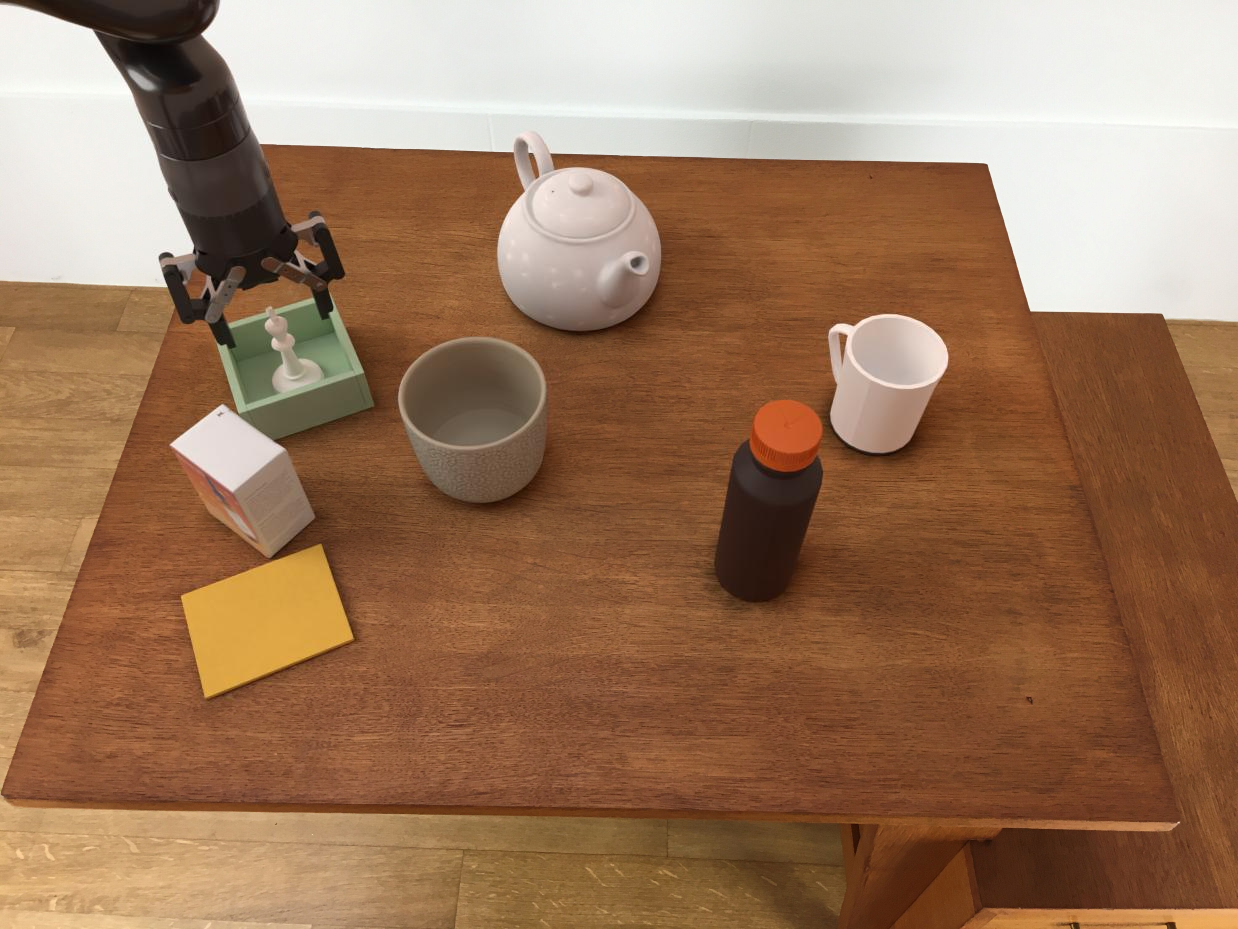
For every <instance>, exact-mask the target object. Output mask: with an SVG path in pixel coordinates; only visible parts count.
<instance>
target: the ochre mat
mask: <svg viewBox="0 0 1238 929" xmlns="http://www.w3.org/2000/svg"><path fill="white" fill-rule="evenodd" d="M180 598H181V604H182V608H183V612H184V616H185V619H186V624H187V628H188V633H189V637H190V640H191V645H192V649H193V653H194V658H195V662H196V665H197V666H196V667H197V670H198V674H199V679H200V684H201V686H202V687H201V688H202V692H203V695H204V699H205V700H206V701H207V700H210V699H213V698H215V697H217V696H220V695H222V694H225V693H227V692H230V691H232V690H234V689H238V688H240V687H242V686H245V685H247V684H250V683H252V682H255V681H258V680H260V679H263V678H265V677H268V676H270V675H272V674H275V673H277V672H280V671H282V670H286V669H288V668H290V667H292V666H294V665H297V664H299V663H303V662H305V661H307V660H310V659H312V658H315V657H317V656H320V655H322V654H326V653H327V652H330V651H332V650H334V649H337V648H339V647H342V646H344V645H347V644H350V643H352V642H355V636H354V634H353V631H352V628H351V626H350V622H349V618H348V617H347V614H346V611H345V608H344V605H343V602H342V599H341V597H340V594H339V591H338V586H337V585H336V581H335V579H334V576H333V573H332V569H331V568H330V564H329V561H328V559H327V555H326V553H325V550H324V547H323V545H322V543H319V544H316V545H313V546H310V547H307V548H306V549H302V550H299V551H297V552H295V553H291V554H288V555H287V556H284V557H283V556H282V557H281V558H278V559H275V560H273V561H270V562H268V563H264V564H262V565H260V566H256V567H254V568H251V569H249V570H246V571H243V572H240V573H237V574H235V575H232V576H229V577H226V578H224V579H222V580H218V581H216V582H214V583H210V584H208V585H206V586H203V587H200V588H198V589H195V590H192V591H189V592H187V593H184V594H181V595H180Z"/></svg>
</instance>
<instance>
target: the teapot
mask: <svg viewBox="0 0 1238 929" xmlns="http://www.w3.org/2000/svg"><path fill="white" fill-rule="evenodd" d="M529 149H530V150H531V152H532V154H533V156H534V159H535V161H536V165H537V170H538V178H536V175H535V173H534V170H533V168H532V163H531V160H530V153H529ZM513 158H514V163H515V167H516V171H517V174H518V177H519V180H520V183H521V185H522V188H523V191H524V192H523V193H522V194H521V195H520V196H519V197H518V199H517V200H516V201H515V202H514V203H513V204H512V206H511V208H510V209H509V211H508V212H507V214H506V215H505V218H504V220H503V221H502V222H503V223H502V224H501V228H500V231H499V235H498V241H497V250H496V256H497V267H498V273H499V277H500V280H501V283H502V285H503V288H504V289H505V292H506V294H507V296H508V297H509V299H510V301H511V302H512V303H513V304H514V305H515V306H516V308H518V310H520V311H521V312H522V313H523V314H525V315H526V316H527V317H528V318H530V319H533V320H534V321H536V322H538V323H540V324H542V325H545V326H547V327H551V328H554V329H557V330H562V331H563V330H564V331H571V332H588V331H589V332H591V331H597V330H603V329H607V328H609V327H613V326H616V325H618V324H620V323H622V322H624V321H626V320H628V319H629V318H631V317H632V316H634V315H635V314H636V313H637V312H638V311H639V310H641V308H642V307H643V306H644V305H645V304H646V303H647V302H648V301H649V299H651V296H652V295H653V293H654V291H655V288H656V286H657V283H658V280H659V276H660V273H661V265H662V245H661V244H662V243H661V240H660V238H661V237H660V235H659V231H658V228H657V225H656V223H655V220H654V218H653V216H652V214H651V213H650V211H649V209H648V208H647V206H646V205H645V204H644V202H642V200H641V199H640V198H639V197H638V196H637V195H636V194H635V193H634V192H633V191H631V189H630V188H629V187H628V186H627V185H626V184H625V183H624V182H623V181H621V180H620V179H619V178H618V177H616V176H615V175H613V174H611V173H608V172H605V171H603V170H601V169H600V170H599V169H595V168H590V167H579V166H577V167H576V166H575V167H565V168H559V169H556V170H555V167H554V166H555V165H554V163H553V159H552V155H551V153H550V149H549V148H548V146H547V144H546V143H545V141H544V139H543V138H542V136H540V134H539V133H538V132H536V131H534V130H526V131H523V132H522V131H521V133H518V134H517V136H515V139H514V142H513Z"/></svg>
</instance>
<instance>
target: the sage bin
mask: <svg viewBox="0 0 1238 929" xmlns="http://www.w3.org/2000/svg"><path fill="white" fill-rule="evenodd" d="M329 293H330V297H331V300H332V303H333V306H334V308H333V312H330V313H328V315H329V319H326V320H323V321H322V319H321V317H320V314H319V312H318V309H317V307H316V304H315V301H314V298H313V297H310V298H308V299H307V298H306V299H304V300H301V301H297V302H294V303H291V304H288V305H285V306H281V307H278V308H275V309H274V308H273V310H274V312H275V314H276V315H277V316H280V317H283V318H285V319H286V320H287V323H288V327H287V333H288V334H290V335H292V336H293V337H294V339H295V343H294V345H293V347H292V350H293V351H294V353H295V355H296V356H297V358H298V359H308V360H311V361H314V362H315V363H317V364H318V365H319V367H320V368H321V370H322V371H323V374H324V379H323V380H320V381H317V382H314V383H311V384H308V385H305V386H302V387H299V388H296V389H293V390H289V391H286V392H283V393H280V394H276V393H275V391H274V389H273V384H272V377H273V374H274V372H275V371H276V369H277V368H278V367H279V366H281V365H282V364H283V359H282V355H281V351H277V350H275V349H273V347H272V345H271V344H272V339H273V338H274V337H273V336H272V335H271V334H269V333H268V332H267V330H266V329H265V323H266V322H267V320H268V319H270V316H269V315H268V314H267V313H266V311H265V312H261V313H258V314H254V315H251V316H248V317H245V318H241V319H238V320H234V321H232V322H227V323H228V325H229V327H230V330H231V332H232V335H233V338H234V341H235V344H236V347H235V348H232V349H228V347H227V345H222V346H221V345H219V344H218V343H217V342H216V339H215V338H214V340H215V343H216V346H217V349H218V352H219V355H220V359H221V363H222V365H223V368H224V372H225V375H226V378H227V381H228V383H229V384H228V385H229V387H230V390H231V394H232V397H233V400H234V403H235V407H236V409H237V413H238V416H239V417H240V418H242V419H243V420H245V421H246V422H247V423H249V424H250V425H251V426H253V427H254V428H256V429H257V430H258V431H260V432H261V433H263V434H264V435H265V436H267V437H268V438H270V439H271V440H273V441H276V440H279V439H282V438H286V437H288V436H291V435H294V434H297V433H300V432H303V431H306V430H308V429H311V428H315V427H317V426H320V425H324V424H327V423H329V422H332V421H335V420H338V419H342V418H344V417H347V416H351V415H353V414H357V413H359V412H361V411H365V410H368V409H370V408H371V409H372V408H374V407H375V402H374V400H373V397H372V393H371V390H370V387H369V383H368V380H367V378H366V377H367V376H366V374H365V371H364V368H363V366H362V363H361V362H360V360H359V357H358V354H357V352H356V350H355V347H354V345H353V343H352V340H351V338H350V336H349V333H348V331H347V328H346V325H345V324H344V321H343V319H342V317H341V315H340V312H339V310H338V308H337V305H336V303H335V300H334V298H333V296H332V294H331V292H329Z"/></svg>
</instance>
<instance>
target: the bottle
mask: <svg viewBox="0 0 1238 929" xmlns="http://www.w3.org/2000/svg"><path fill="white" fill-rule="evenodd" d="M823 435H824V425H823V422H822V420H821V418H820V416H819V415H818V413H816V411H814V409H812V408H811V407H809V406H808V405H807V404H805V403H802V402H799V401H798V400H797V401H796V400H792V399H776V400H773V401H770V402H767V403H766V404H764V405H762V406H761V407H760V408H759V409H758V410H757V411H756V413H755V415H754V417H753V419H752V425H751V429H750V437H749V438H748V439H747V440H745V441H744V442H741V444H740V445H739V446H738V448H737V449H736V451H735V453H734V454H733V457H732V462H731V467H730V473H729V478H728V484H727V489H726V494H725V500H724V506H723V510H722V517H721V521H720V527H719V534H718V539H717V544H716V549H715V555H714V560H713V565H714V572H715V575H716V577H717V580H718V581H719V583H720V585H721V586H722V587H723V588H724V590H726V591H727V592H728V593H729V594H732V595H733V596H735V597H737V598H738V599H740V600H745V601H748V602H765V601H768V600H771V599H773V598H776V597H777V596H778V595H780V594H781V593H782V592H783V591H785V590H786V589H787V588H788V586H789V584H790V582H791V581H792V578H793V575H794V572H795V569H796V566H797V562H798V559H799V557H800V553H801V550H802V548H803V544H804V541H805V537H806V534H807V531H808V528H809V525H810V522H811V519H812V516H813V513H814V510H815V508H816V503H817V500H818V498H819V494H820V491H821V488H822V483H823V477H824V469H823V464H822V460H821V458H820V457H819V455H818V452H819V449H820V446H821V442H822V439H823V437H824V436H823Z"/></svg>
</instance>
